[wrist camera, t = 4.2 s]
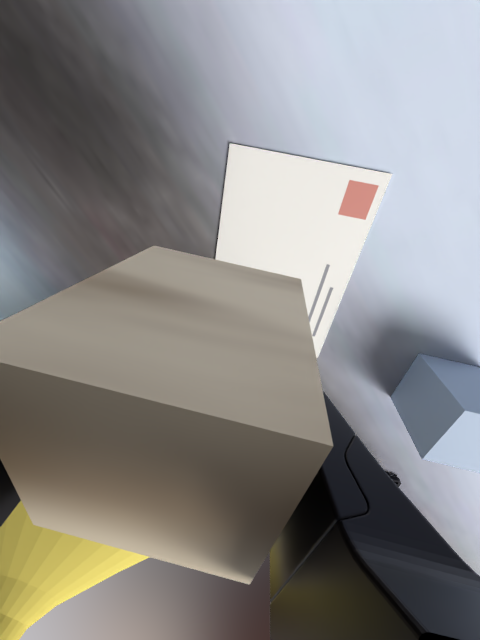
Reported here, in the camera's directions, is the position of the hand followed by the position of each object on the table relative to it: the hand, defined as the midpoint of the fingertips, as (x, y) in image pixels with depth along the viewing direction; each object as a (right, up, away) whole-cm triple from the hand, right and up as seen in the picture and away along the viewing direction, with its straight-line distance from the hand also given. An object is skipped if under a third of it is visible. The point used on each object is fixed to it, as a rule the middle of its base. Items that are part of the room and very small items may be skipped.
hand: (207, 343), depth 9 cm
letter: (+4, +5, +10) cm, 12 cm away
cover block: (0, +1, +1) cm, 1 cm away
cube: (+18, -5, +13) cm, 22 cm away
